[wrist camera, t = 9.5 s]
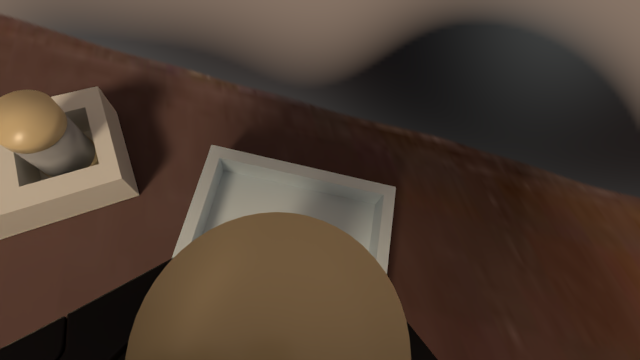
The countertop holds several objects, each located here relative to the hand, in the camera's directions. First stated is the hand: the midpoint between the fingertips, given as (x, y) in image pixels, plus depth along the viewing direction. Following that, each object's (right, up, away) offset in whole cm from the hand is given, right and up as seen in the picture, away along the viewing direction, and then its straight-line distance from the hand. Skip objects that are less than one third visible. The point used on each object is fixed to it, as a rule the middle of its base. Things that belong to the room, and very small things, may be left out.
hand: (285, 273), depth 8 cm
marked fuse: (-1, -3, +5) cm, 6 cm away
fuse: (-12, +3, +10) cm, 16 cm away
